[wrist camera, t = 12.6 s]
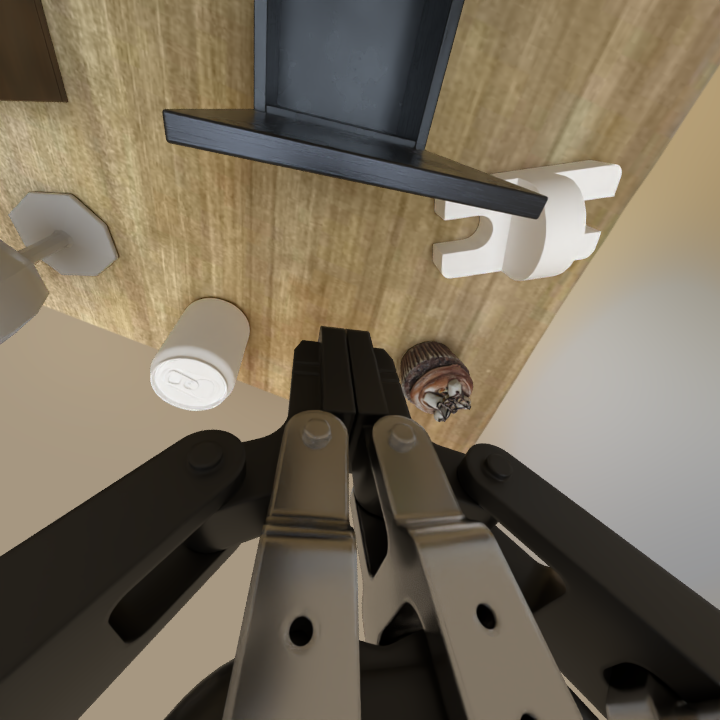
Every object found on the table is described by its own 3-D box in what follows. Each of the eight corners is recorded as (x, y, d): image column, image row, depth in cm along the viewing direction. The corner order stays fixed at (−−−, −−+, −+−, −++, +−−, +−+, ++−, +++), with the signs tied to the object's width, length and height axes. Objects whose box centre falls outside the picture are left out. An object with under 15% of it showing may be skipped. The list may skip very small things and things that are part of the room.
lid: (160, 108, 9) (165, 142, 9) (550, 197, 11) (538, 220, 12) (252, 108, 22) (252, 122, 22) (426, 150, 24) (422, 162, 25)
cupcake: (432, 324, 45) (456, 369, 37) (468, 359, 50) (496, 406, 42) (382, 364, 49) (395, 413, 41) (420, 393, 54) (438, 442, 46)
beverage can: (233, 357, 45) (212, 423, 36) (174, 330, 41) (133, 395, 32) (261, 317, 42) (246, 377, 32) (199, 283, 38) (161, 340, 29)
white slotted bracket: (435, 181, 34) (472, 203, 26) (600, 158, 34) (686, 173, 26) (432, 267, 40) (461, 307, 32) (572, 247, 40) (635, 281, 32)
